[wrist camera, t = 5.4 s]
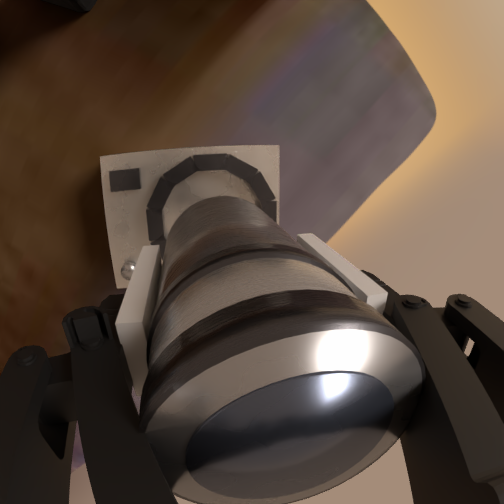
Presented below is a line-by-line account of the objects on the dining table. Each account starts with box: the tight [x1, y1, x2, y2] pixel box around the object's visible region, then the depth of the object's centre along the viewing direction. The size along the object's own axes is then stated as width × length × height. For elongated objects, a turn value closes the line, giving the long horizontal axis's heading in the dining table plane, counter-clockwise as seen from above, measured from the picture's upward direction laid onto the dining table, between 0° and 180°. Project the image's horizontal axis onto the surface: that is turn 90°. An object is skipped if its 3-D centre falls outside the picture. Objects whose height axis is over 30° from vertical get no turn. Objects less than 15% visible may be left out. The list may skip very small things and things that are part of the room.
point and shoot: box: [100, 145, 279, 288], centre depth 26 cm, size 14×11×6 cm
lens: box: [139, 196, 426, 504], centre depth 11 cm, size 6×6×12 cm
